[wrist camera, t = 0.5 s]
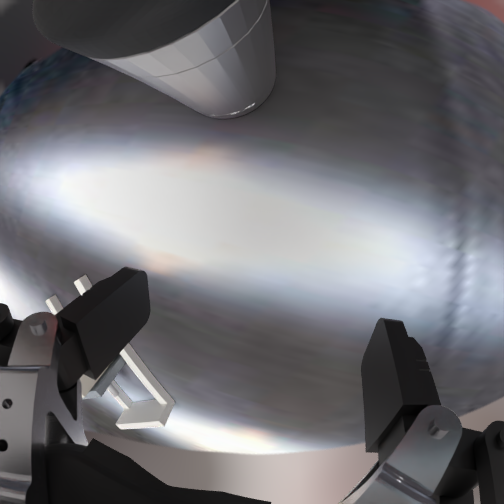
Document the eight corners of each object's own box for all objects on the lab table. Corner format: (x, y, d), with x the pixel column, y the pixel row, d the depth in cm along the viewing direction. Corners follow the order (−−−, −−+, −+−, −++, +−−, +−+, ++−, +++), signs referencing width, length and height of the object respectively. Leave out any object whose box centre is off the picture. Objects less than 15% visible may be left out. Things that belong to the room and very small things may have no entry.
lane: (51, 296, 33) (30, 312, 28) (85, 274, 31) (61, 290, 26) (132, 408, 38) (120, 429, 33) (175, 401, 36) (164, 426, 31)
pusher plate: (98, 360, 35) (70, 394, 27) (124, 352, 33) (95, 390, 26) (114, 380, 36) (90, 416, 28) (141, 375, 34) (117, 414, 27)
